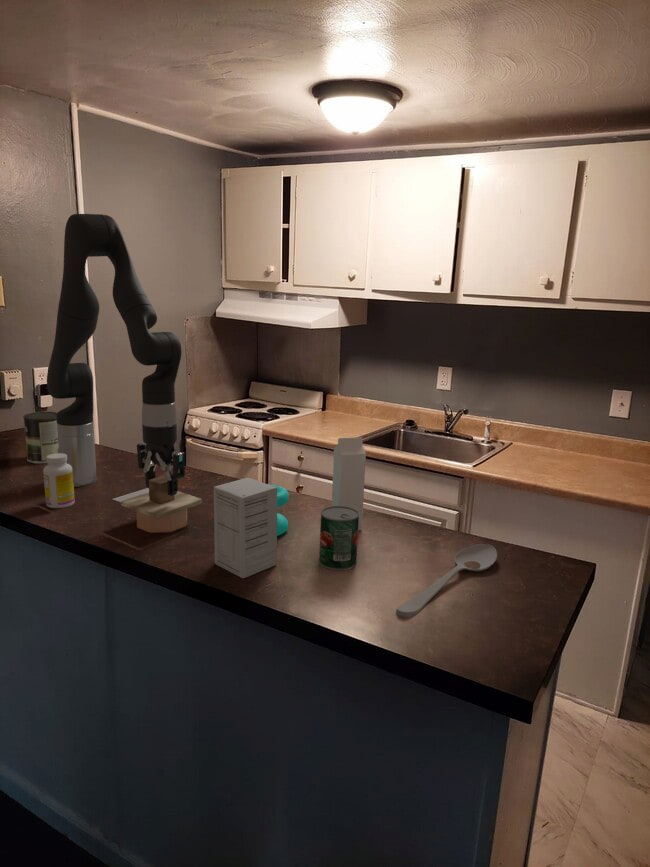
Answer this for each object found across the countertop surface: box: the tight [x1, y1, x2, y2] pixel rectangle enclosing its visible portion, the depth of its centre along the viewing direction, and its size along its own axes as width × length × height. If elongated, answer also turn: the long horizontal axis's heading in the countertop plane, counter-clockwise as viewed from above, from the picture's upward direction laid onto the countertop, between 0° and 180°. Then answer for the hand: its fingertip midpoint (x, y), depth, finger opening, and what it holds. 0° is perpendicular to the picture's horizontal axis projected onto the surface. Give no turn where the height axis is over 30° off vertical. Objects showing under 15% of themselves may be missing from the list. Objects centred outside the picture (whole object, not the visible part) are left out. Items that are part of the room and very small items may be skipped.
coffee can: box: [22, 411, 59, 465], centre depth 185 cm, size 10×10×14 cm
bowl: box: [135, 509, 188, 534], centre depth 140 cm, size 11×11×5 cm
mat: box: [112, 487, 196, 503], centre depth 156 cm, size 15×15×1 cm
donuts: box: [270, 484, 290, 537], centre depth 138 cm, size 10×10×10 cm
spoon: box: [395, 543, 498, 618], centre depth 118 cm, size 35×8×3 cm, turn 139°
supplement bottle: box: [42, 453, 76, 509], centre depth 149 cm, size 7×7×13 cm
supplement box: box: [213, 477, 278, 579], centre depth 120 cm, size 10×9×17 cm
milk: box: [331, 436, 367, 531], centre depth 141 cm, size 6×6×22 cm
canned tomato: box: [318, 505, 359, 571], centre depth 124 cm, size 8×8×11 cm
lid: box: [120, 475, 203, 519], centre depth 139 cm, size 13×13×6 cm
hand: (161, 490), depth 139 cm, fingers open, 7 cm apart
